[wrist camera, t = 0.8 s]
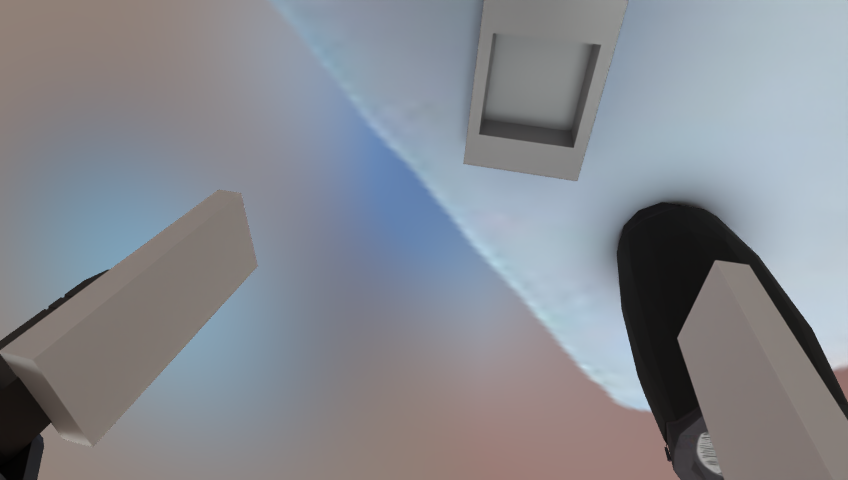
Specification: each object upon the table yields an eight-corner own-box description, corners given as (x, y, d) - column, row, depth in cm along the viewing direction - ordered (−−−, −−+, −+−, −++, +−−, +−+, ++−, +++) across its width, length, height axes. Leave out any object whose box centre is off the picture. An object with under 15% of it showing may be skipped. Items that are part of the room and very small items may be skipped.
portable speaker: (596, 275, 39) (632, 492, 23) (635, 180, 34) (716, 374, 18) (697, 297, 38) (808, 541, 22) (753, 203, 33) (951, 431, 17)
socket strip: (517, -201, 25) (500, -309, 15) (668, -196, 23) (760, -311, 14) (471, 142, 36) (444, 212, 26) (573, 157, 34) (586, 236, 24)
